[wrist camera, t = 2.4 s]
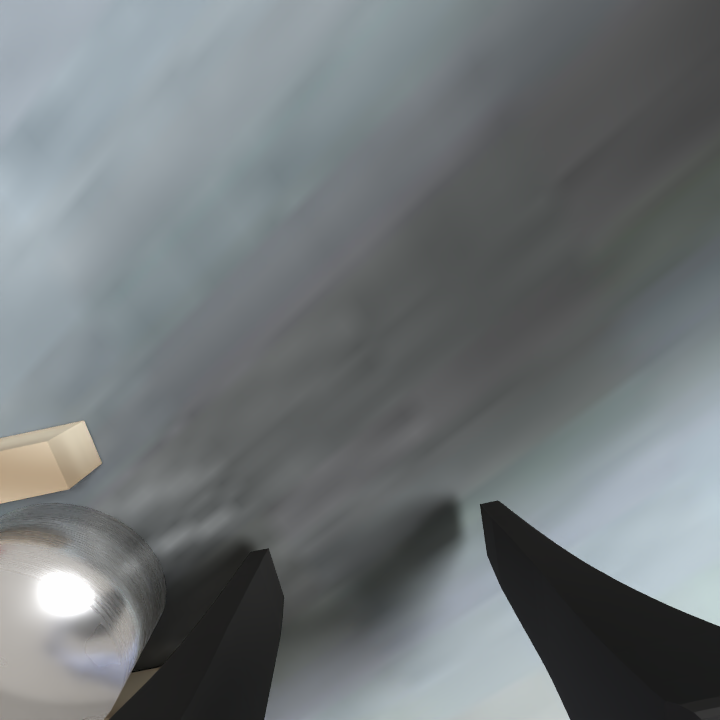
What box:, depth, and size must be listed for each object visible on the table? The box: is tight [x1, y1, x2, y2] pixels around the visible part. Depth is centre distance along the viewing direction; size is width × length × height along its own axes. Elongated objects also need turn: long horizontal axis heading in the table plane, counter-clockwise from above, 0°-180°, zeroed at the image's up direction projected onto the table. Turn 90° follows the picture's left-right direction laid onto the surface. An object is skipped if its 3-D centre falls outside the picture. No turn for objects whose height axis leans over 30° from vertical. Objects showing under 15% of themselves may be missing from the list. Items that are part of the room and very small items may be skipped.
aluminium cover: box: [0, 503, 166, 720], centre depth 12 cm, size 7×7×3 cm
